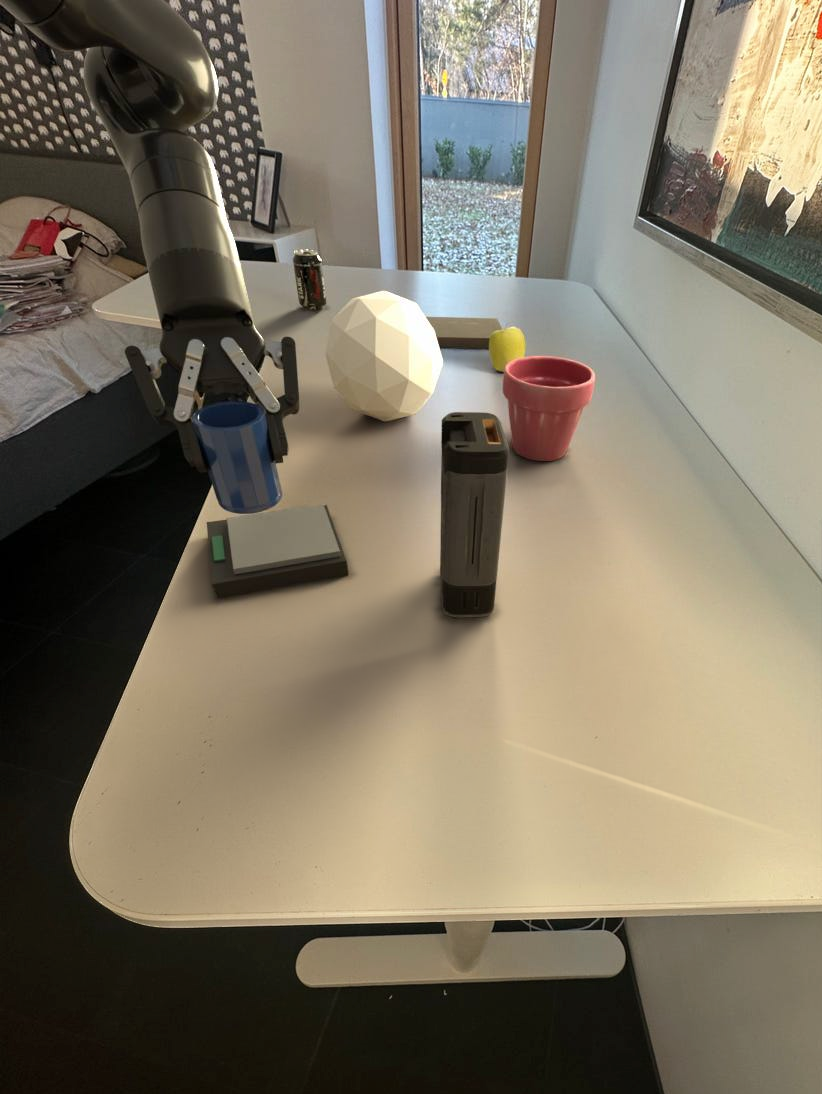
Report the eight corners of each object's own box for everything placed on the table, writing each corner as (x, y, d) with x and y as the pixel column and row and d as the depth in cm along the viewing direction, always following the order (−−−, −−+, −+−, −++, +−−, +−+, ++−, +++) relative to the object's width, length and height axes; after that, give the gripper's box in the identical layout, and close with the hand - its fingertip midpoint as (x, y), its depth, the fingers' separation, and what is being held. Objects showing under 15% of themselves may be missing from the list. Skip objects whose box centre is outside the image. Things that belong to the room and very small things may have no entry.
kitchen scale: (217, 599, 64) (209, 578, 62) (211, 536, 73) (204, 516, 71) (348, 575, 69) (345, 555, 67) (328, 518, 77) (325, 499, 75)
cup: (220, 518, 51) (192, 433, 46) (216, 486, 55) (191, 404, 49) (286, 508, 53) (267, 425, 47) (278, 478, 57) (260, 398, 51)
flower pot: (512, 424, 102) (520, 348, 93) (588, 440, 99) (603, 363, 90) (486, 458, 92) (491, 377, 83) (569, 476, 89) (584, 394, 80)
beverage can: (305, 312, 143) (297, 255, 134) (295, 305, 147) (287, 249, 138) (331, 309, 146) (324, 254, 137) (320, 302, 150) (314, 248, 141)
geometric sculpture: (362, 446, 107) (299, 342, 100) (450, 394, 109) (395, 289, 102) (372, 438, 90) (297, 311, 83) (477, 376, 92) (413, 247, 85)
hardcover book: (404, 326, 139) (404, 316, 137) (496, 328, 142) (497, 318, 140) (406, 348, 128) (406, 337, 126) (506, 350, 131) (507, 339, 129)
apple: (535, 368, 120) (527, 319, 112) (501, 383, 119) (491, 335, 112) (520, 356, 125) (511, 308, 118) (487, 370, 125) (477, 323, 117)
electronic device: (439, 569, 70) (440, 409, 56) (486, 568, 71) (499, 410, 57) (443, 620, 64) (445, 453, 50) (495, 618, 65) (512, 454, 51)
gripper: (86, 245, 43) (139, 461, 44) (280, 242, 48) (325, 440, 48) (118, 303, 51) (162, 488, 51) (284, 296, 55) (323, 468, 55)
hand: (241, 464), depth 50 cm, fingers closed on cup, 6 cm apart
